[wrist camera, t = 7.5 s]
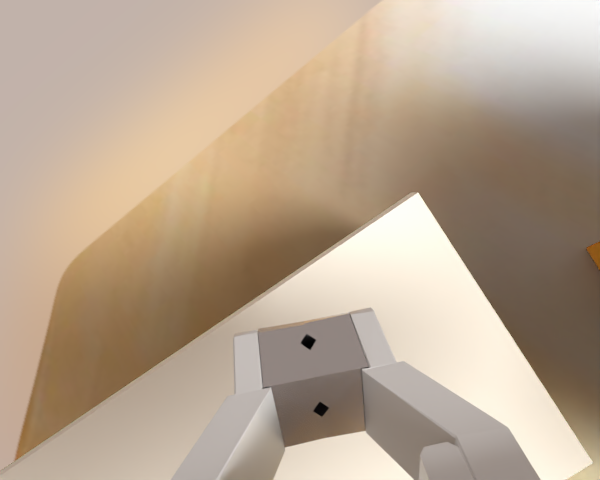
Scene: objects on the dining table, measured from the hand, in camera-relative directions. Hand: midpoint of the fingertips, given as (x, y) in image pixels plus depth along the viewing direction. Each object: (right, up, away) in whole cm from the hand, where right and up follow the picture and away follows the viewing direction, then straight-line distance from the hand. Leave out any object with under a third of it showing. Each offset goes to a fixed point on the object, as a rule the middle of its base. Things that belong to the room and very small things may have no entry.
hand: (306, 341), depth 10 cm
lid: (-1, -8, +10) cm, 13 cm away
